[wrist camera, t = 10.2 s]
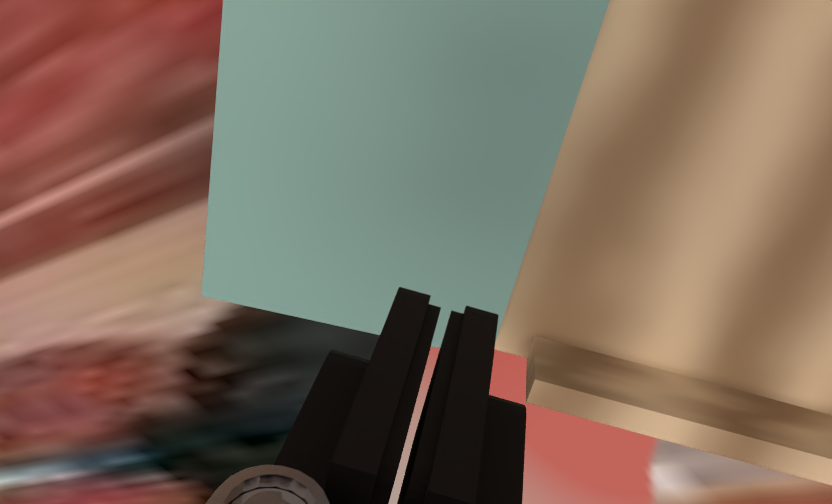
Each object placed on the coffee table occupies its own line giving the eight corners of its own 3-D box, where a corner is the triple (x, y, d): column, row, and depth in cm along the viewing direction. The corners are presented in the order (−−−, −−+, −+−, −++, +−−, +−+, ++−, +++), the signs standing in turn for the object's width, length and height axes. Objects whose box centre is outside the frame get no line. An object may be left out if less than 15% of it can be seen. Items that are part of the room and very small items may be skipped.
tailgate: (667, -171, 19) (243, -278, 19) (489, 359, 28) (201, 296, 28) (651, -167, 21) (263, -265, 21) (488, 331, 30) (217, 271, 30)
